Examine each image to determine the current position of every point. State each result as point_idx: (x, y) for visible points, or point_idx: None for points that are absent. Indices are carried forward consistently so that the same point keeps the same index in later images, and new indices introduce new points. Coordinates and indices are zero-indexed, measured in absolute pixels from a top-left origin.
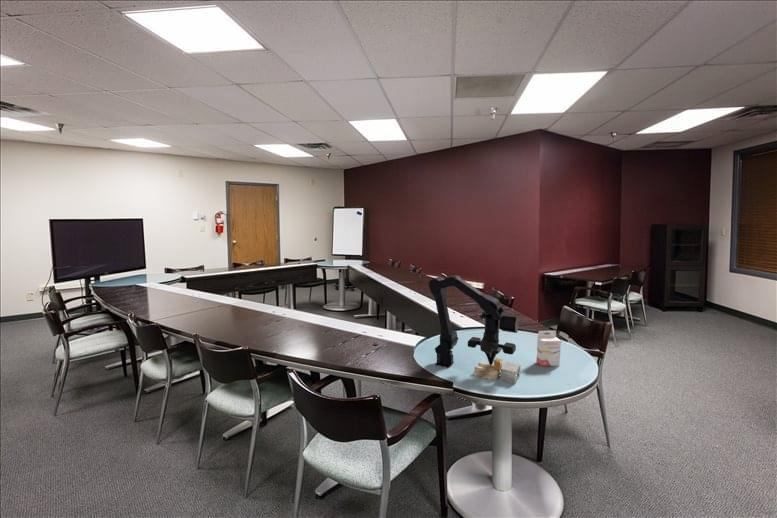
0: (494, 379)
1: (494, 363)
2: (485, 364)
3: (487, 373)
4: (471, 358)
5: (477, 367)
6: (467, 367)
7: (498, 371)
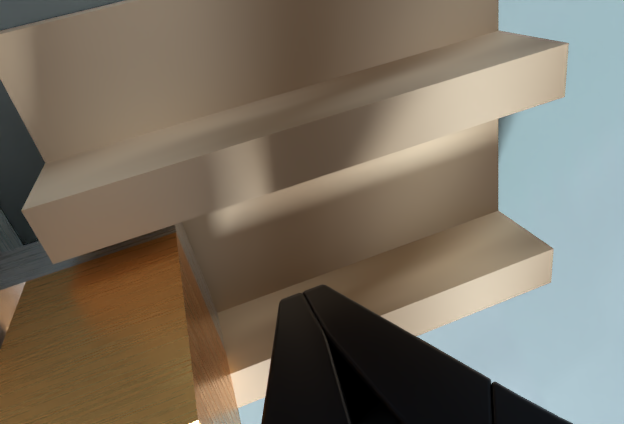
0: (25, 26)
1: (174, 354)
2: (431, 293)
3: (264, 103)
4: (620, 354)
5: (514, 56)
6: (617, 138)
7: (63, 262)
